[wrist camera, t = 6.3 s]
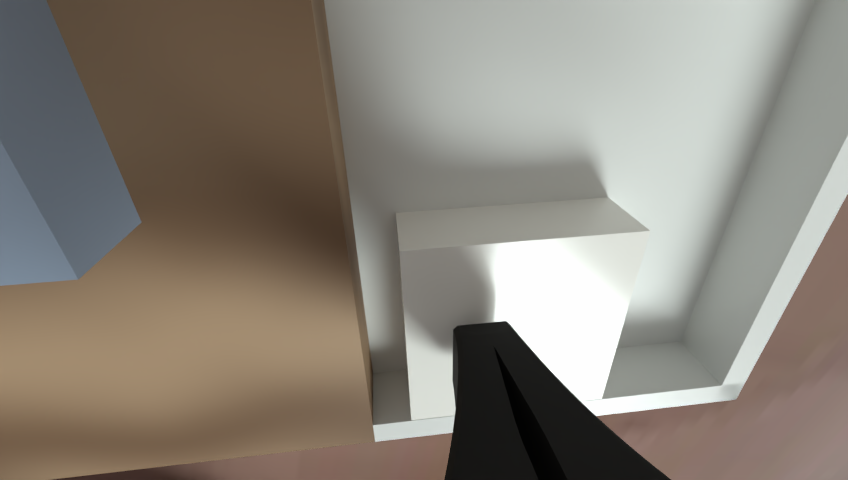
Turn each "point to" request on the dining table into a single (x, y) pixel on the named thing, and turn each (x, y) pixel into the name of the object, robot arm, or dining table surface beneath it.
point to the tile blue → (52, 158)
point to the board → (198, 253)
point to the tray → (604, 160)
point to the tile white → (517, 288)
